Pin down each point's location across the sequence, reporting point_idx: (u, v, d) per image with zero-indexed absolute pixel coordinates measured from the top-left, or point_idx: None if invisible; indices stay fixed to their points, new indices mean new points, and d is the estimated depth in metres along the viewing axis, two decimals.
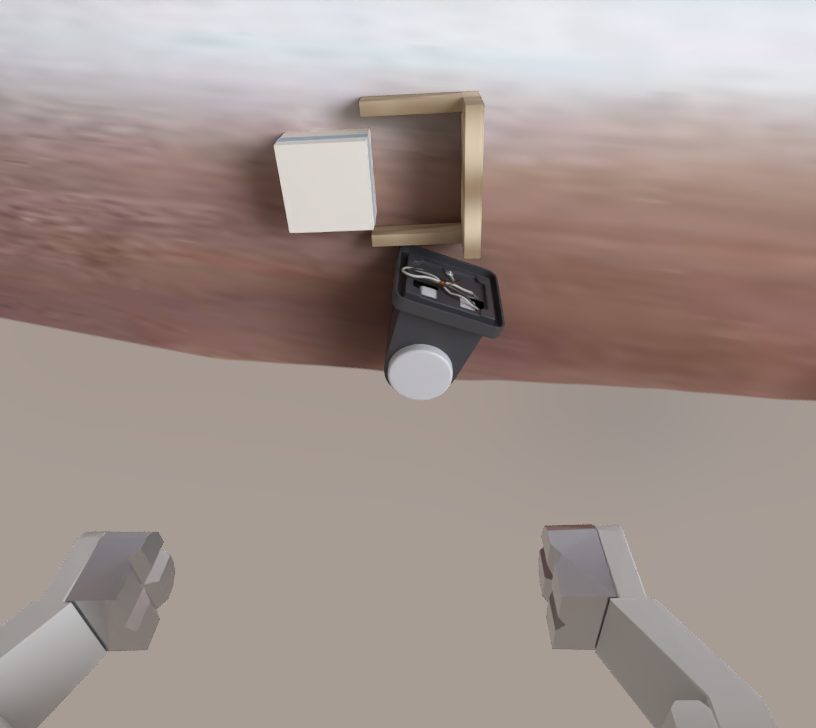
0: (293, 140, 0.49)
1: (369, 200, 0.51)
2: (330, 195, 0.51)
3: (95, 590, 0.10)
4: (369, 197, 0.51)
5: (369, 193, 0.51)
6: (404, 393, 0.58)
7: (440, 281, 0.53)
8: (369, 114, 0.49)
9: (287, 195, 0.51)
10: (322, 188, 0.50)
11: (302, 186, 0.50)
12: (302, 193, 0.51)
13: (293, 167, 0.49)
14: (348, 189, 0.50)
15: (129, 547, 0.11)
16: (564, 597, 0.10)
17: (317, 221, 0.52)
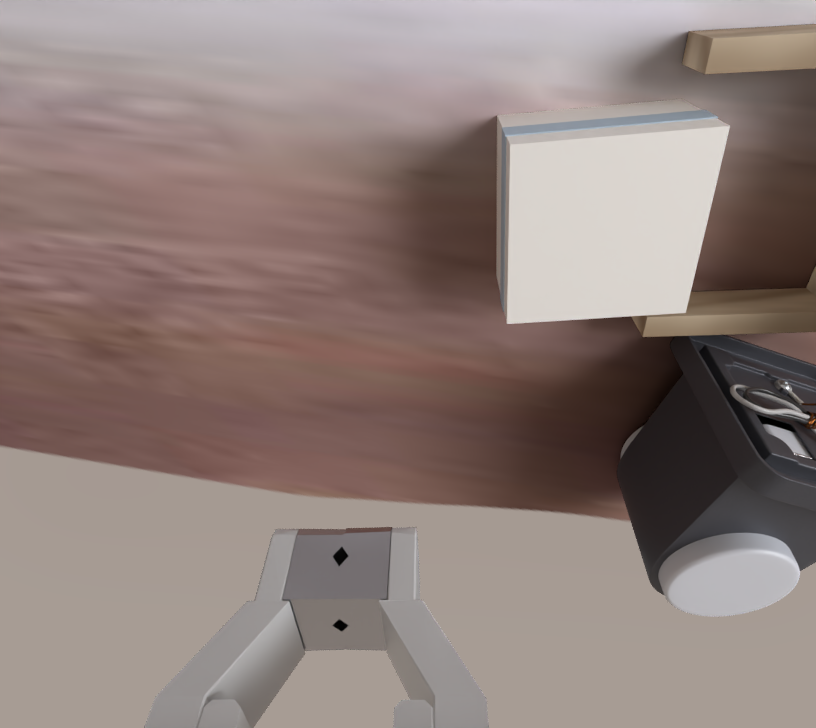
0: (544, 131, 0.22)
1: (696, 255, 0.23)
2: (613, 248, 0.23)
3: (309, 588, 0.10)
4: (698, 249, 0.23)
5: (699, 241, 0.23)
6: (686, 608, 0.31)
7: (810, 418, 0.26)
8: (728, 68, 0.21)
9: (518, 251, 0.24)
10: (598, 235, 0.23)
11: (556, 231, 0.23)
12: (553, 245, 0.23)
13: (544, 192, 0.22)
14: (656, 234, 0.23)
15: (329, 545, 0.11)
16: (337, 599, 0.10)
17: (570, 300, 0.25)
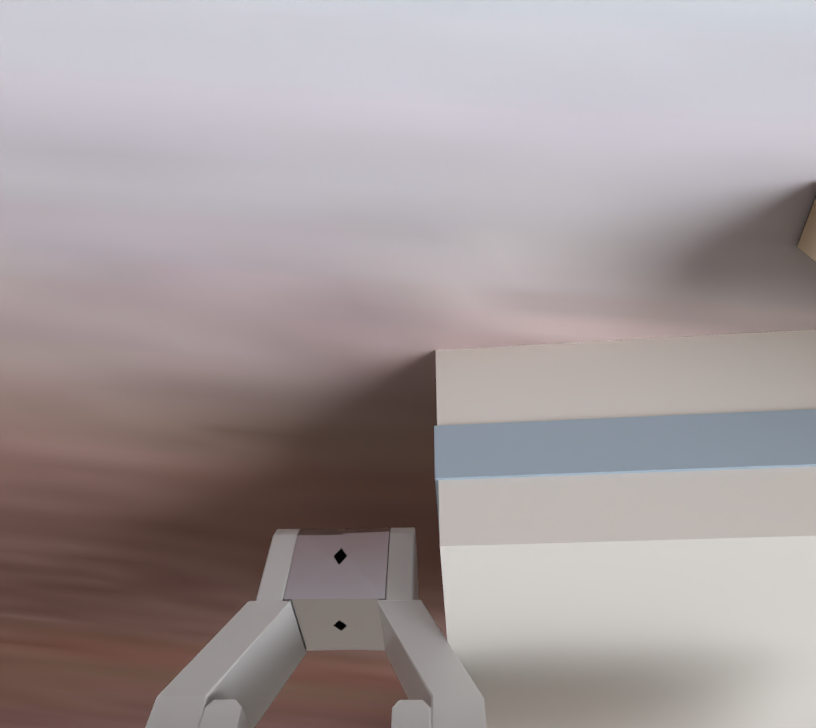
0: (535, 474, 0.08)
1: None
2: (697, 699, 0.10)
3: (310, 588, 0.10)
4: None
5: None
6: None
7: None
8: None
9: None
10: (666, 681, 0.10)
11: (563, 676, 0.10)
12: (556, 691, 0.10)
13: (536, 620, 0.09)
14: (805, 684, 0.10)
15: (330, 545, 0.11)
16: (335, 599, 0.10)
17: None
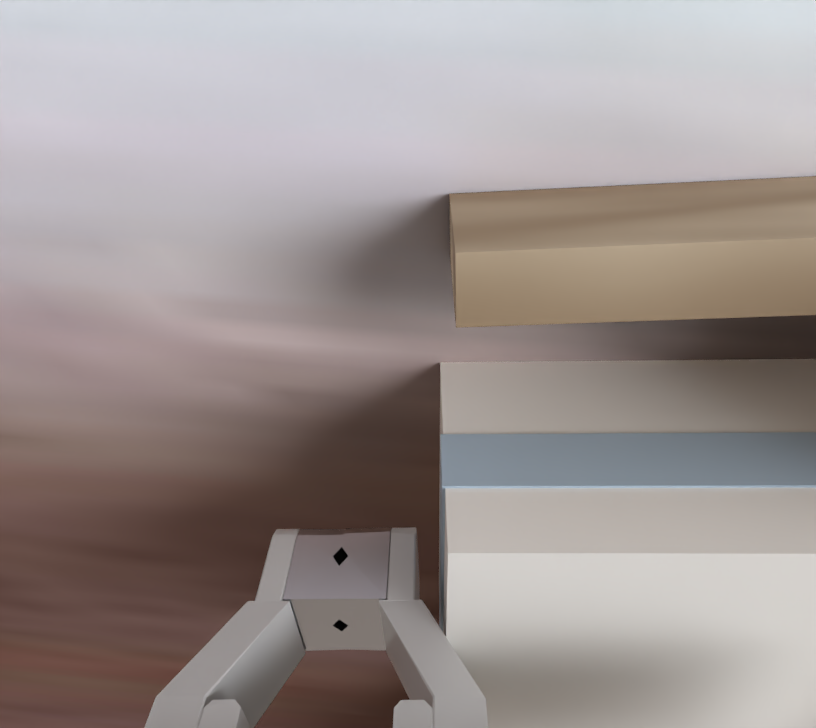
0: (538, 485, 0.09)
1: None
2: (678, 703, 0.10)
3: (310, 588, 0.10)
4: None
5: None
6: None
7: None
8: (513, 316, 0.08)
9: None
10: (650, 685, 0.10)
11: (554, 678, 0.10)
12: (546, 693, 0.10)
13: (533, 625, 0.09)
14: (779, 691, 0.10)
15: (329, 545, 0.11)
16: (336, 599, 0.10)
17: None
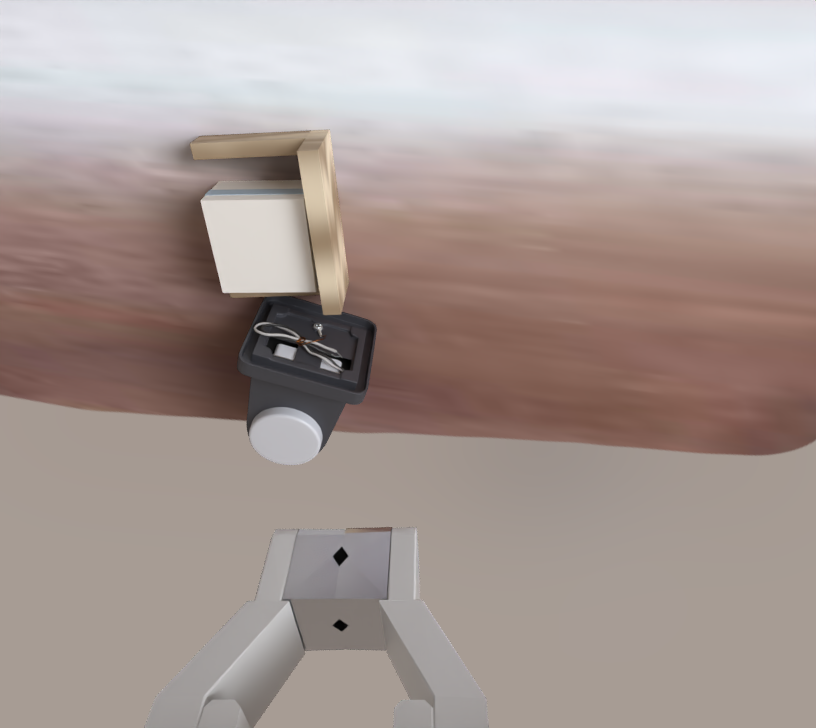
0: (223, 194, 0.44)
1: (310, 261, 0.46)
2: (266, 255, 0.45)
3: (309, 588, 0.10)
4: (310, 258, 0.45)
5: (310, 254, 0.45)
6: (271, 458, 0.52)
7: (298, 339, 0.48)
8: (204, 157, 0.43)
9: (218, 253, 0.45)
10: (257, 247, 0.45)
11: (234, 244, 0.45)
12: (235, 251, 0.45)
13: (223, 224, 0.44)
14: (286, 249, 0.45)
15: (329, 545, 0.11)
16: (336, 599, 0.10)
17: (253, 281, 0.47)
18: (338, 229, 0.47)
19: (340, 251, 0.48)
